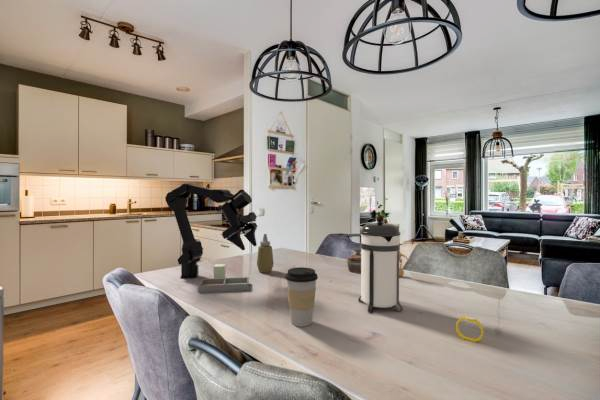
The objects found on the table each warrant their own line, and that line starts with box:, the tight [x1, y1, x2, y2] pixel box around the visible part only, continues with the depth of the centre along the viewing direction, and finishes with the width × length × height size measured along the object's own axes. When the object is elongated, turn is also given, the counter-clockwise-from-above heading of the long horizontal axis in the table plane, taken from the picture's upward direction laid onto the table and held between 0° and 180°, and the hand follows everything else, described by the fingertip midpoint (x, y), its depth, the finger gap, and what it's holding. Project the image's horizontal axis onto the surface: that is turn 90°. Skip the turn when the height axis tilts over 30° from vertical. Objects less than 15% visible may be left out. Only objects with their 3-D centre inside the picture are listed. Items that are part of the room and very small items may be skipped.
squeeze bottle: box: [256, 233, 275, 274], centre depth 144 cm, size 8×8×18 cm
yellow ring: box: [455, 314, 484, 343], centre depth 77 cm, size 6×3×6 cm, turn 53°
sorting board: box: [197, 276, 250, 294], centre depth 119 cm, size 18×10×2 cm, turn 98°
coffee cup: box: [284, 267, 319, 328], centre depth 87 cm, size 9×9×15 cm
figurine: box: [399, 250, 410, 278], centre depth 134 cm, size 8×6×12 cm
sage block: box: [213, 263, 227, 279], centre depth 131 cm, size 4×4×6 cm
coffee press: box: [358, 215, 403, 314], centre depth 100 cm, size 17×16×30 cm
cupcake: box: [346, 249, 361, 274], centre depth 145 cm, size 10×10×10 cm
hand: (250, 247), depth 124 cm, fingers open, 9 cm apart
